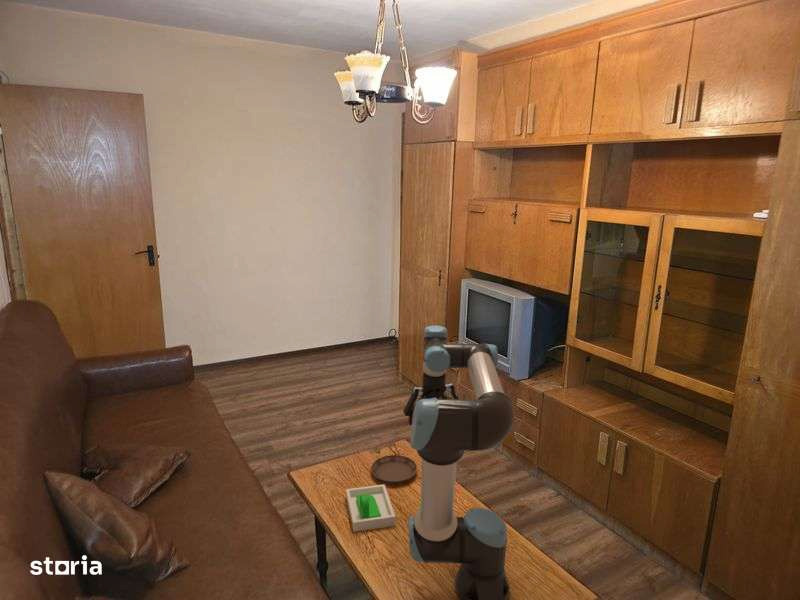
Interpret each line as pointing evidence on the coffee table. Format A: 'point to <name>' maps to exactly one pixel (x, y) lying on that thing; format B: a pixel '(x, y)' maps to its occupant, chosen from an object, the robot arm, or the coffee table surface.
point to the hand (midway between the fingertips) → (432, 430)
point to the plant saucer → (394, 469)
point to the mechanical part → (367, 506)
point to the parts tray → (383, 505)
